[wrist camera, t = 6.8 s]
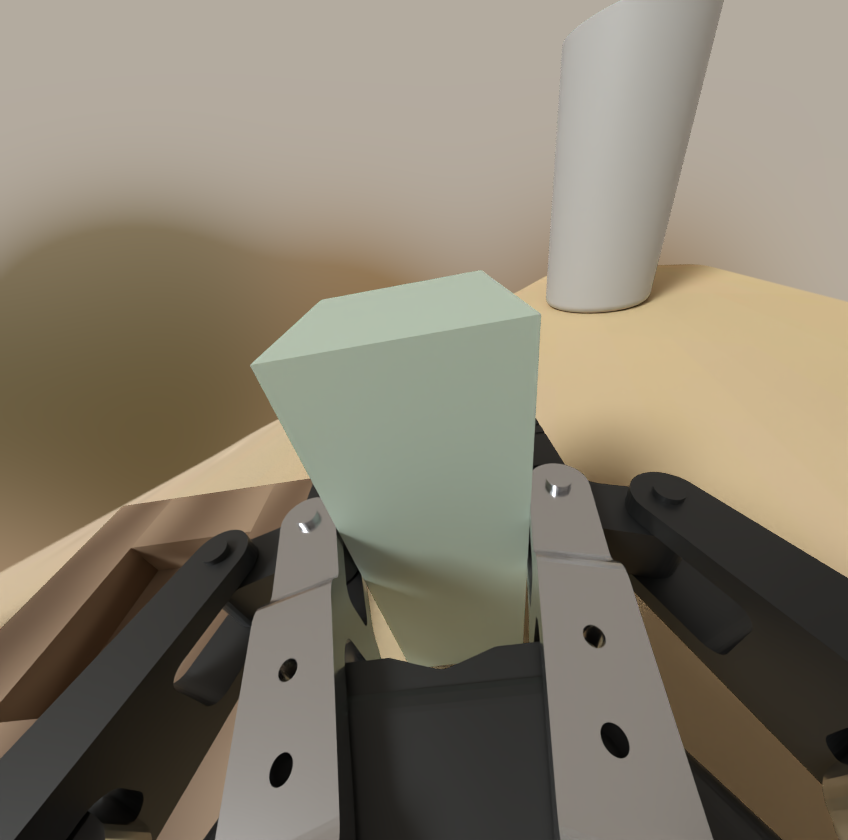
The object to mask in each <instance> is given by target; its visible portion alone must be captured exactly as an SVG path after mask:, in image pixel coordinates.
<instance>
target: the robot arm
mask: <svg viewBox="0 0 848 840" xmlns="http://www.w3.org/2000/svg"><path fill="white" fill-rule="evenodd" d="M529 524H530V526H529V544H528V558H527V568H526V569H527V588H528V608H529V643H522V644H513V645H503V646H495V647H493V648H491V649H489V650H486V651H484V652H482V653H480V654H478V655H475V656H473V657H471V658H469V659H467V660H465V661H462V662H460V663H458V664H456V665H454V666H451V667H449V668H446V669H435V668H431V667H426V666H422V665H418V664H413V663H409V662H404V661H400V660H396V659H391V658H385V659H381V657H380V653H379V649H378V646H377V643H376V640H375V636H374V632H373V627H372V620H371V613H370V606H369V599H368V592H367V585H366V583H365V581H364V579H363V577H362V575H361V573H360V571H359V569H358V568H357V566H356V564H355V562H354V560H353V558H352V556H351V554H350V552H349V551H348V549H347V547H346V545H345V543H344V541H343V539H342V537H341V536H340V534H339V532H338V530H337V528H336V526H335V524H334V522H333V520H332V519H331V517H330V515H329V513H328V511H327V509H326V507H325V505H324V503H323V502H322V500H321V498H320V496H319V494H318V492H317V490H316V488H315V487H314V485H313V484H312V487H311V490H310V492H309V495H308V498H307V500H305V501H303V502H301V503H299V504H298V505H296V506H295V507H294V508H293V509H291V510H290V511H289V512H288V514H287V515H286V516H285V518H284V520H283V522H282V524H281V527H280V528H277V529H275V530H273V531H270V532H268V533H265V534H263V535H261V536H258V537H256V538H253V539H250V538H249V537H248V536H247V534H246V533H245V532H243V531H241V530H229V531H225V532H223V533H220V534H218V535H216V536H214V537H213V538H211V539H210V540H208V541H207V542H206V543H204V544H203V545H202V546H201V547H200V548H199V549H198V550H197V551H196V552H195V553H194V554H193V555H192V556H191V557H190V558H189V559H188V561H187V562H186V563H185V564H184V565H183V566H182V567H181V568H180V569H179V570H178V571H177V572H176V573H175V574H174V575H173V576H172V577H171V579H170V580H169V581H168V582H167V583H166V584H165V585H164V586H163V587H162V588H161V589H160V590H159V591H158V592H157V593H156V594H155V595H154V597H153V598H152V599H151V600H150V601H149V602H148V603H147V604H146V605H145V606H144V607H143V608H142V609H141V610H140V611H139V612H138V613H137V614H136V616H135V617H134V618H133V619H132V620H131V621H130V622H129V623H128V624H127V625H126V626H125V627H124V628H123V629H122V630H121V631H120V632H119V634H118V635H117V636H116V637H115V638H114V639H113V640H112V641H111V642H110V643H109V644H108V645H107V646H106V647H105V648H104V649H103V650H102V652H101V653H100V654H99V655H98V656H97V657H96V658H95V659H94V660H93V661H92V662H91V663H90V664H89V665H88V666H87V667H86V668H85V670H84V671H83V672H82V673H81V674H80V675H79V676H78V677H77V678H76V679H75V680H74V681H73V682H72V683H71V684H70V685H69V686H68V688H67V689H66V690H65V691H64V692H63V693H62V694H61V695H60V696H59V697H58V698H57V699H56V700H55V701H54V702H53V703H52V704H51V706H50V707H49V708H48V709H47V710H46V711H45V712H44V713H43V714H42V715H41V716H40V717H39V718H38V719H37V720H36V721H35V722H34V724H33V725H32V726H31V727H30V728H29V729H28V730H27V731H26V732H25V733H24V734H23V735H22V736H21V737H20V738H19V739H18V740H17V742H16V743H15V744H14V745H13V746H12V747H11V748H10V749H9V750H8V751H7V752H6V753H5V754H4V755H3V756H2V757H1V758H0V840H156V839H157V838H158V836H159V834H160V832H161V831H162V829H163V827H164V826H165V824H166V822H167V820H168V819H169V817H170V815H171V814H172V812H173V810H174V809H175V807H176V805H177V803H178V802H179V800H180V798H181V797H182V795H183V793H184V791H185V790H186V788H187V786H188V785H189V783H190V781H191V779H192V778H193V776H194V774H195V773H196V771H197V769H198V767H199V766H200V764H201V762H202V761H203V759H204V757H205V756H206V754H207V752H208V750H209V749H210V747H211V745H212V744H213V742H214V740H215V738H216V737H217V735H218V733H219V732H220V730H221V728H222V726H223V725H224V723H225V721H226V720H227V718H228V716H229V714H230V713H231V711H232V709H233V708H234V706H235V704H236V703H237V701H238V699H239V702H238V707H237V713H236V719H235V725H234V731H233V737H232V743H231V749H230V755H229V760H228V766H227V772H226V778H225V784H224V790H223V796H222V802H221V808H220V814H219V818H218V819H217V821H216V822H215V824H214V825H213V826H212V828H211V829H210V831H209V832H208V834H207V835H206V836H205V838H204V839H203V840H782V839H781V838H780V837H779V836H778V835H777V834H776V833H775V832H773V831H772V830H771V829H770V828H769V827H768V826H767V825H766V824H765V823H764V822H763V821H762V820H761V819H759V818H758V817H757V816H756V815H755V814H754V813H753V812H752V811H751V810H750V809H749V808H748V807H747V806H745V805H744V804H743V803H742V802H741V801H740V800H739V799H738V798H737V797H736V796H735V795H734V794H733V793H731V792H730V791H729V790H728V789H727V788H726V787H725V786H724V785H723V784H722V783H721V782H720V781H719V780H717V779H716V778H715V777H714V776H713V775H712V774H711V773H710V772H709V771H708V770H707V769H706V768H705V767H704V766H702V765H701V764H700V763H699V762H698V761H697V760H696V759H695V758H694V757H693V756H692V755H691V754H690V753H688V752H687V751H686V750H685V749H684V747H683V744H682V741H681V738H680V735H679V731H678V728H677V725H676V722H675V719H674V716H673V713H672V710H671V707H670V703H669V700H668V697H667V694H666V691H665V688H664V685H663V682H662V679H661V675H660V672H659V669H658V666H657V663H656V660H655V657H654V654H653V651H652V647H651V644H650V641H649V638H648V635H647V632H646V629H645V626H644V623H643V619H642V616H641V613H640V610H639V607H638V604H637V601H636V598H635V595H634V592H635V593H636V594H637V595H638V596H639V597H640V598H641V599H642V600H643V601H644V602H645V603H646V604H647V606H648V607H649V608H650V609H651V610H652V611H653V612H654V613H655V614H656V615H657V616H658V617H659V618H660V619H661V620H662V621H663V622H664V623H665V624H666V625H667V626H668V627H669V628H670V629H671V630H672V631H673V632H674V633H675V634H676V635H677V636H678V637H679V638H680V639H681V640H682V641H683V642H684V643H685V644H686V646H687V647H688V648H689V649H690V650H691V651H692V652H693V653H694V654H695V655H696V656H697V657H698V658H699V659H700V660H701V661H702V662H703V663H704V664H705V665H706V666H707V667H708V668H709V669H710V670H711V671H712V672H713V673H714V674H715V675H716V676H717V677H718V678H719V679H720V680H721V681H722V682H723V683H724V684H725V685H726V687H727V688H728V689H729V690H730V691H731V692H732V693H733V694H734V695H735V696H736V697H737V698H738V699H739V700H740V701H741V702H742V703H743V704H744V705H745V706H746V707H747V708H748V709H749V710H750V711H751V712H752V713H753V714H754V715H755V716H756V717H757V718H758V719H759V720H760V721H761V722H762V723H763V724H764V725H765V726H766V728H767V729H768V730H769V731H770V732H771V733H772V734H773V735H774V736H775V737H776V738H777V739H778V740H779V741H780V742H781V743H782V744H783V745H784V746H785V747H786V748H787V749H788V750H789V751H790V752H791V753H792V754H793V755H794V756H795V757H796V758H797V759H798V760H799V761H800V762H801V763H802V764H803V765H804V766H805V767H806V769H807V770H808V771H809V772H810V773H811V774H812V775H813V776H814V777H815V778H816V779H817V780H818V781H819V782H820V783H821V784H822V790H823V795H824V800H825V803H826V806H827V809H828V812H829V814H830V816H831V818H832V820H833V826H834V829H835V832H836V834H837V836H838V838H839V840H848V578H847V577H845V576H843V575H842V574H840V573H838V572H837V571H835V570H834V569H832V568H830V567H829V566H827V565H825V564H824V563H822V562H820V561H819V560H817V559H815V558H814V557H812V556H810V555H809V554H807V553H805V552H804V551H802V550H801V549H799V548H797V547H796V546H794V545H792V544H791V543H789V542H787V541H786V540H784V539H782V538H781V537H779V536H777V535H776V534H774V533H772V532H771V531H769V530H767V529H766V528H764V527H763V526H761V525H759V524H758V523H756V522H754V521H753V520H751V519H749V518H748V517H746V516H744V515H743V514H741V513H739V512H738V511H736V510H734V509H733V508H731V507H730V506H728V505H726V504H725V503H723V502H721V501H720V500H718V499H716V498H715V497H713V496H711V495H710V494H708V493H706V492H705V491H703V490H701V489H700V488H698V487H697V486H695V485H693V484H692V483H690V482H688V481H686V480H684V479H682V478H680V477H677V476H674V475H670V474H666V473H660V472H647V473H642V474H640V475H637V476H636V477H634V478H633V479H632V481H631V483H630V486H629V487H627V486H618V485H608V484H600V483H594V482H590V481H588V480H587V478H586V477H585V476H584V475H583V474H582V473H581V472H579V471H578V470H576V469H575V468H572V467H570V466H567V465H565V464H564V463H563V461H562V459H561V458H560V456H559V455H558V453H557V451H556V450H555V448H554V447H553V445H552V443H551V442H550V440H549V439H548V437H547V435H546V434H544V431H543V429H542V427H541V426H540V425H539V423H538V421H537V419H536V418H535V434H534V452H533V471H532V489H531V504H530V511H529ZM222 609H223V610H224V611H225V612H226V613H227V614H228V615H227V617H226V618H225V619H224V621H223V622H222V624H221V625H220V626H219V628H218V629H217V630H216V632H215V633H214V635H213V636H212V637H211V639H210V640H209V641H208V643H207V644H206V646H205V647H204V648H203V650H202V651H201V652H200V654H199V655H198V657H197V658H196V659H195V661H194V662H193V663H192V665H191V666H190V668H189V669H188V670H187V672H186V673H185V674H184V675H183V676H182V677H181V678H180V679H179V680H178V681H176V682H175V683H174V677H175V674H176V672H177V670H178V668H179V666H180V665H181V663H182V662H183V660H184V659H185V658H186V656H187V655H188V654H189V652H190V651H191V650H192V648H193V647H194V646H195V644H196V643H197V642H198V640H199V639H200V638H201V636H202V635H203V634H204V632H205V631H206V630H207V628H208V627H209V626H210V624H211V623H212V622H213V620H214V619H215V618H216V616H217V615H218V614H219V612H220V611H221V610H222Z"/></svg>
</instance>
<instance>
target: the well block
mask: <svg viewBox="0 0 848 840" xmlns="http://www.w3.org/2000/svg"><path fill="white" fill-rule="evenodd" d="M312 484H313V483H312V481H311V479H304V480H298V481H291V482H284V483H277V484H270V485H264V486H257V487H250V488H243V489H236V490H230V491H223V492H216V493H209V494H202V495H196V496H189V497H182V498H175V499H168V500H162V501H155V502H148V503H141V504H134V505H128V506H123V507H122V508H121V509H120V510H119V511H118V512H117V513H116V514H115V515H114V516H113V517H112V518H111V519H110V520H109V521H108V522H107V523H106V524H105V525H104V526H103V527H102V528H101V529H100V530H99V531H98V532H97V533H96V534H95V535H94V536H93V537H92V538H91V539H90V540H89V541H88V542H87V543H86V544H85V545H84V546H83V547H82V548H81V549H80V550H79V551H78V552H77V553H76V554H75V555H74V556H73V557H72V558H71V559H70V560H69V561H68V562H67V563H66V564H65V565H64V566H63V567H62V568H61V569H60V570H59V571H58V572H57V573H56V574H55V575H54V576H53V577H52V578H51V579H50V580H49V581H48V582H47V583H46V584H45V585H44V586H43V587H42V588H41V589H40V590H39V591H38V592H37V593H36V594H35V595H34V596H33V597H32V598H31V599H30V600H29V601H28V602H27V603H26V604H25V605H24V606H23V607H22V608H21V609H20V610H19V611H18V612H17V613H16V614H15V615H14V616H13V617H12V618H11V619H10V620H9V621H8V622H7V623H6V624H5V625H4V626H3V627H2V628H1V629H0V758H1V757H2V756H3V755H4V754H5V753H6V752H7V751H8V750H9V749H10V748H11V747H12V746H13V745H14V744H15V743H16V742H17V740H18V739H19V738H20V737H21V736H22V735H23V734H24V733H25V732H26V731H27V730H28V729H29V728H30V727H31V726H32V725H33V724H34V722H35V721H36V720H37V719H38V718H39V717H40V716H41V715H42V714H43V713H44V712H45V711H46V710H47V709H48V708H49V707H50V706H51V704H52V703H53V702H54V701H55V700H56V699H57V698H58V697H59V696H60V695H61V694H62V693H63V692H64V691H65V690H66V689H67V688H68V686H69V685H70V684H71V683H72V682H73V681H74V680H75V679H76V678H77V677H78V676H79V675H80V674H81V673H82V672H83V671H84V670H85V668H86V667H87V666H88V665H89V664H90V663H91V662H92V661H93V660H94V659H95V658H96V657H97V656H98V655H99V654H100V653H101V652H102V650H103V649H104V648H105V647H106V646H107V645H108V644H109V643H110V642H111V641H112V640H113V639H114V638H115V637H116V636H117V635H118V634H119V632H120V631H121V630H122V629H123V628H124V627H125V626H126V625H127V624H128V623H129V622H130V621H131V620H132V619H133V618H134V617H135V616H136V614H137V613H138V612H139V611H140V610H141V609H142V608H143V607H144V606H145V605H146V604H147V603H148V602H149V601H150V600H151V599H152V598H153V597H154V595H155V594H156V593H157V592H158V591H159V590H160V589H161V588H162V587H163V586H164V585H165V584H166V583H167V582H168V581H169V580H170V579H171V577H172V576H173V575H174V574H175V573H176V572H177V571H178V570H179V569H180V568H181V567H182V566H183V565H184V564H185V563H186V562H187V561H188V559H189V558H190V557H191V556H192V555H193V554H194V553H195V552H196V551H197V550H198V549H199V548H200V547H201V546H202V545H203V544H204V543H206V542H207V541H208V540H210V539H211V538H213V537H214V536H216V535H218V534H220V533H223V532H225V531H229V530H241V531H243V532H245V533H246V534H247V536H248V537H249V538H250V539H253V538H256V537H258V536H261V535H263V534H265V533H268V532H270V531H273V530H275V529H277V528H280V527H281V524H282V522H283V520H284V518H285V516H286V515H287V514H288V512H289V511H290V510H291V509H293V508H294V507H295V506H296V505H298V504H299V503H301V502H303V501H305V500H307V498H308V495H309V492H310V490H311V487H312ZM227 615H228V614H227V613H226V612H225V611H224V610H223V609H222V610H221V611H220V612H219V614H218V615H217V616H216V618H215V619H214V620H213V622H212V623H211V624H210V626H209V627H208V628H207V630H206V631H205V632H204V634H203V635H202V636H201V638H200V639H199V640H198V642H197V643H196V644H195V646H194V647H193V648H192V650H191V651H190V652H189V654H188V655H187V656H186V658H185V659H184V660H183V662H182V663H181V665H180V666H179V668H178V670H177V672H176V674H175V677H174V683H175V682H176V681H178V680H179V679H180V678H181V677H182V676H183V675H184V674H185V673H186V672H187V670H188V669H189V668H190V666H191V665H192V663H193V662H194V661H195V659H196V658H197V657H198V655H199V654H200V652H201V651H202V650H203V648H204V647H205V646H206V644H207V643H208V641H209V640H210V639H211V637H212V636H213V635H214V633H215V632H216V630H217V629H218V628H219V626H220V625H221V624H222V622H223V621H224V619H225V618H226V617H227ZM238 702H239V699H238V701H237V703H236V704H235V706H234V708H233V709H232V711H231V713H230V714H229V716H228V718H227V720H226V721H225V723H224V725H223V726H222V728H221V730H220V732H219V733H218V735H217V737H216V738H215V740H214V742H213V744H212V745H211V747H210V749H209V750H208V752H207V754H206V756H205V757H204V759H203V761H202V762H201V764H200V766H199V767H198V769H197V771H196V773H195V774H194V776H193V778H192V779H191V781H190V783H189V785H188V786H187V788H186V790H185V791H184V793H183V795H182V797H181V798H180V800H179V802H178V803H177V805H176V807H175V809H174V810H173V812H172V814H171V815H170V817H169V819H168V820H167V822H166V824H165V826H164V827H163V829H162V831H161V832H160V834H159V836H158V838H157V839H156V840H203V839H204V838H205V836H206V835H207V834H208V832H209V831H210V829H211V828H212V826H213V825H214V824H215V822H216V821H217V819H218V818H219V814H220V808H221V802H222V796H223V790H224V784H225V778H226V772H227V766H228V760H229V755H230V749H231V743H232V737H233V731H234V725H235V719H236V713H237V707H238Z"/></svg>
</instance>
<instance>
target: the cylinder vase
mask: <svg viewBox="0 0 848 840" xmlns="http://www.w3.org/2000/svg"><path fill="white" fill-rule="evenodd" d="M723 2H724V0H620V1H618V2H616V3H614V4H612V5H611V6H609V7H607V8H605V9H603V10H602V11H600V12H598V13H597V14H595V15H593V16H592V17H591V18H589V19H588V20H586V21H585V22H583V23H582V24H580V25H579V26H578V27H577V28H576V29H574V30H573V31H572V32H571V33H570V34H569V35H568V37H567V38H566V39H565V41H564V42H563V45H562V60H561V76H560V90H559V107H558V121H557V137H556V152H555V169H554V183H553V199H552V213H551V229H550V244H549V261H548V275H547V290H546V301H547V303H548V304H549V305H550V306H552V307H553V308H556V309H559V310H563V311H568V312H578V313H598V312H609V311H616V310H622V309H626V308H630V307H633V306H636V305H638V304H640V303H642V302H643V301H645V300H646V299H647V298H648V297H649V295H650V293H651V289H652V285H653V281H654V277H655V273H656V269H657V265H658V261H659V257H660V253H661V249H662V245H663V241H664V237H665V233H666V229H667V225H668V221H669V217H670V213H671V209H672V205H673V201H674V197H675V193H676V189H677V185H678V181H679V177H680V173H681V169H682V165H683V161H684V157H685V153H686V149H687V145H688V141H689V137H690V133H691V129H692V125H693V121H694V117H695V113H696V109H697V105H698V101H699V97H700V93H701V89H702V85H703V81H704V77H705V73H706V69H707V65H708V61H709V57H710V53H711V49H712V45H713V41H714V37H715V33H716V29H717V25H718V21H719V17H720V13H721V9H722V5H723Z"/></svg>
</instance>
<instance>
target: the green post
mask: <svg viewBox="0 0 848 840" xmlns="http://www.w3.org/2000/svg"><path fill="white" fill-rule="evenodd" d="M540 324H541V314H540V313H539V312H538V311H536V310H535V309H534V308H532V307H531V306H529V305H528V304H527V303H525V302H524V301H523V300H521V299H520V298H519V297H517V296H516V295H514V294H513V293H512V292H510V291H509V290H508V289H506V288H504V287H503V286H502V285H501V284H499V283H498V282H496V281H495V280H494V279H492V278H491V277H490V276H488V275H487V274H486V273H484V272H483V271H482V270H479V271H474V272H469V273H463V274H458V275H453V276H447V277H442V278H436V279H431V280H426V281H420V282H415V283H409V284H404V285H399V286H393V287H389V288H383V289H378V290H372V291H367V292H361V293H356V294H351V295H345V296H340V297H334V298H329V299H324V300H321V301H320V302H318V303H317V304H316V305H315V306H314V307H313V308H312V309H311V310H310V311H309V312H308V313H306V314H305V315H304V316H303V317H302V318H301V319H300V320H299V321H298V322H297V323H295V325H293V326H292V327H291V328H290V329H289V330H288V331H287V332H286V333H285V334H283V335H282V336H281V337H280V338H279V339H278V340H277V341H276V342H275V343H274V344H273V345H271V346H270V347H269V348H268V349H267V350H266V351H265V352H264V353H263V354H262V355H261V356H259V357H258V358H257V359H256V360H255V361H254V362H253V363H252V364H251V365H250V366H251V368H252V370H253V372H254V374H255V375H256V377H257V379H258V381H259V383H260V385H261V387H262V388H263V391H264V392H265V394H266V396H267V398H268V400H269V402H270V404H271V405H272V407H273V409H274V411H275V413H276V415H277V417H278V419H279V421H280V423H281V424H282V426H283V428H284V430H285V432H286V434H287V436H288V438H289V439H290V441H291V443H292V445H293V447H294V449H295V451H296V453H297V455H298V456H299V458H300V460H301V462H302V464H303V466H304V468H305V470H306V471H307V473H308V475H309V477H310V479H311V481H312V483H313V485H314V487H315V488H316V490H317V492H318V494H319V496H320V498H321V500H322V502H323V503H324V505H325V507H326V509H327V511H328V513H329V515H330V517H331V519H332V520H333V522H334V524H335V526H336V528H337V530H338V532H339V534H340V536H341V537H342V539H343V541H344V543H345V545H346V547H347V549H348V551H349V552H350V554H351V556H352V558H353V560H354V562H355V564H356V566H357V568H358V569H359V571H360V573H361V575H362V577H363V579H364V581H365V583H366V584H367V586H368V588H369V590H370V592H371V594H372V596H373V598H374V600H375V601H376V603H377V605H378V607H379V609H380V611H381V613H382V615H383V616H384V618H385V620H386V622H387V624H388V626H389V628H390V630H391V632H392V633H393V635H394V637H395V639H396V641H397V643H398V645H399V647H400V648H401V650H402V652H403V654H404V656H405V658H406V660H407V662H409V663H413V664H418V665H422V666H426V667H433V666H442V665H451V664H458V663H460V662H462V661H465V660H467V659H469V658H471V657H473V656H475V655H478V654H480V653H482V652H484V651H486V650H489V649H491V648H493V647H495V646H503V645H513V644H522V643H523V636H524V617H525V599H526V581H527V569H526V568H527V558H528V544H529V526H530V524H529V511H530V504H531V489H532V471H533V452H534V434H535V416H536V397H537V379H538V361H539V343H540Z"/></svg>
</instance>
